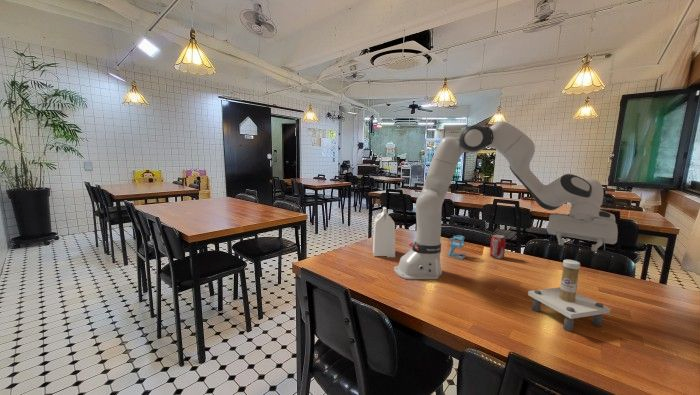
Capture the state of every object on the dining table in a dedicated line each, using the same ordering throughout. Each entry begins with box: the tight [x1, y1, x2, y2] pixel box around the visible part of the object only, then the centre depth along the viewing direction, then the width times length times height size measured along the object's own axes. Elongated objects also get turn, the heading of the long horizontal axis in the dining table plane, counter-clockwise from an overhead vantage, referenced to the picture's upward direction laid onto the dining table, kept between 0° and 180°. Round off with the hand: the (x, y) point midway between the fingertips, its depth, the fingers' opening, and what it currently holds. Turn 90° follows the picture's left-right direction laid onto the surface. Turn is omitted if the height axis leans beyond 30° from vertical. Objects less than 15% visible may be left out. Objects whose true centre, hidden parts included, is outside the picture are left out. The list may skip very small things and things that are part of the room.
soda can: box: [489, 234, 506, 260], centre depth 159 cm, size 7×7×12 cm
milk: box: [372, 206, 396, 258], centre depth 162 cm, size 12×12×26 cm
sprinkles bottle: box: [559, 259, 581, 302], centre depth 98 cm, size 5×5×13 cm
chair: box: [447, 234, 467, 260], centre depth 160 cm, size 8×8×12 cm
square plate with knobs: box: [527, 287, 612, 332], centre depth 100 cm, size 16×16×7 cm
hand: (576, 247), depth 103 cm, fingers open, 8 cm apart
